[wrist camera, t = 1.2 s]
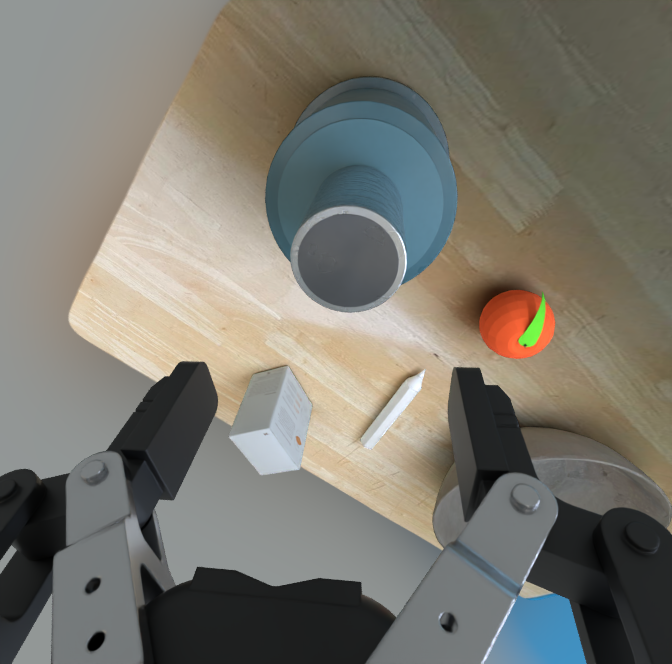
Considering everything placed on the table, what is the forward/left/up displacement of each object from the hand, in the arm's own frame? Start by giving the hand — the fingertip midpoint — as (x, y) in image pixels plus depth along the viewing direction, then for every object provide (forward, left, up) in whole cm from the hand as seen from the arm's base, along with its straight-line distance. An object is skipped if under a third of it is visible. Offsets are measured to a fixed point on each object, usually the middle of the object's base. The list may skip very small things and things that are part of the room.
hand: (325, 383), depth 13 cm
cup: (0, 0, -17) cm, 17 cm away
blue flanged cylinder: (0, 0, -28) cm, 28 cm away
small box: (+28, -12, -28) cm, 42 cm away
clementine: (+14, +15, -28) cm, 35 cm away
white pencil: (+30, +3, -28) cm, 41 cm away
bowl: (+42, +22, -28) cm, 55 cm away
